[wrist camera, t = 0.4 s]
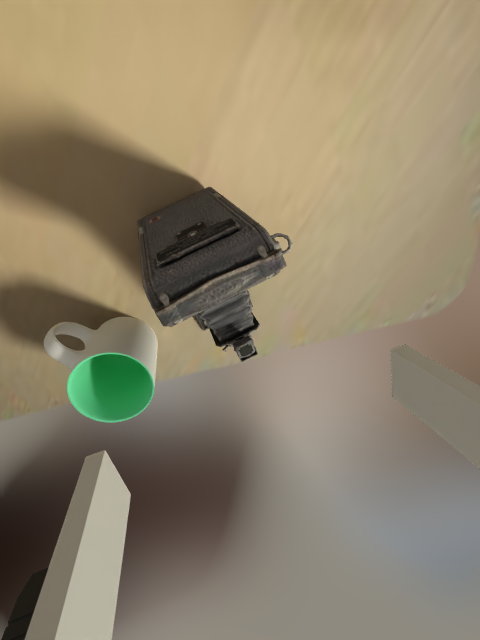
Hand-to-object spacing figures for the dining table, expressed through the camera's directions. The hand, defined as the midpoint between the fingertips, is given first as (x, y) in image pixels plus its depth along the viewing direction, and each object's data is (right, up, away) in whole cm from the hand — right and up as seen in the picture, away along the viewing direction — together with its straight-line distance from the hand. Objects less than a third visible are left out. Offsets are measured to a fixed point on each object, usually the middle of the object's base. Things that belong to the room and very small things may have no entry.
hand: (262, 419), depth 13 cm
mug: (-18, +2, +25) cm, 31 cm away
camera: (-5, +12, +25) cm, 28 cm away
